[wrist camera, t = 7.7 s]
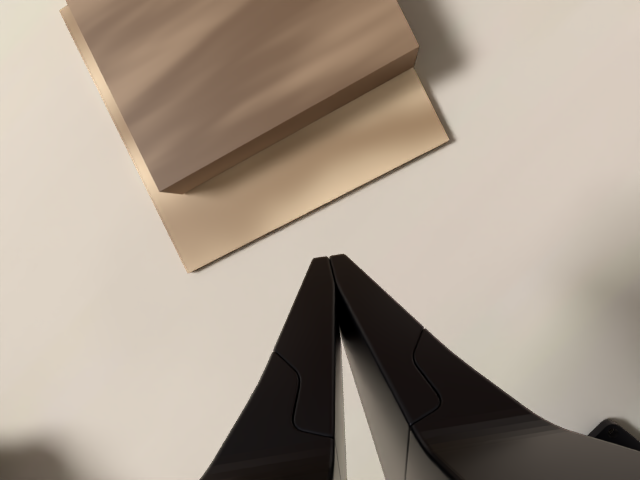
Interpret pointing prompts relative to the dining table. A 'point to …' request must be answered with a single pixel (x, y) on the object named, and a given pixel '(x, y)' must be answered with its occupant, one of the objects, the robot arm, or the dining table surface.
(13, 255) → the dining table surface
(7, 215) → the dining table surface
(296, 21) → the brown wooden slab
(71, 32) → the light tan wooden board
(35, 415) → the dining table surface
